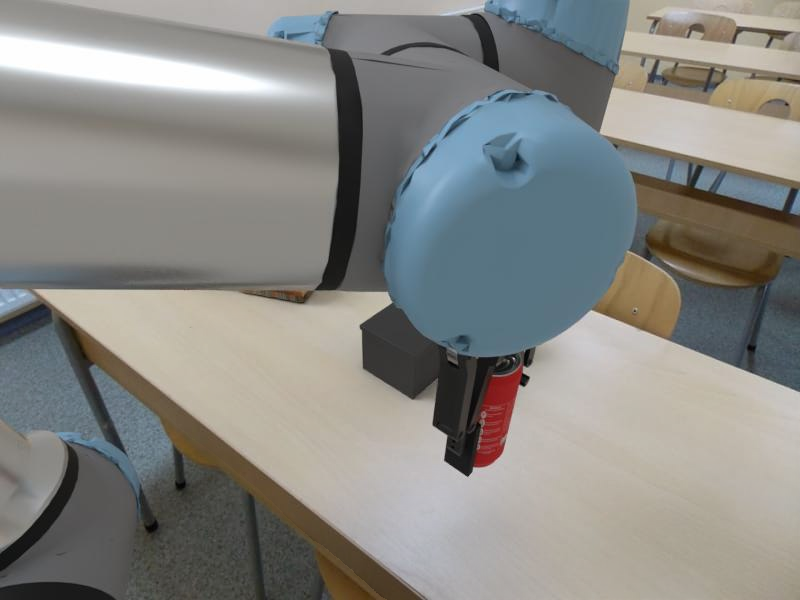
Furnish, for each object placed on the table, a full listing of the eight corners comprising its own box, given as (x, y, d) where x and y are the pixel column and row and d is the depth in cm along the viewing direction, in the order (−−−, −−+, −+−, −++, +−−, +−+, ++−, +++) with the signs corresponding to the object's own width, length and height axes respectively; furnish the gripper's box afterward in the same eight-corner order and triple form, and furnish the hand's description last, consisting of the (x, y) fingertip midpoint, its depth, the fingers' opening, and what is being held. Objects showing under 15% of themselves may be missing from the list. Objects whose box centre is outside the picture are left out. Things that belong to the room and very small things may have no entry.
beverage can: (481, 481, 47) (501, 387, 40) (437, 449, 50) (448, 355, 43) (512, 448, 50) (536, 355, 43) (469, 419, 53) (485, 327, 46)
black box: (413, 401, 75) (415, 357, 70) (360, 368, 80) (359, 324, 75) (454, 364, 81) (459, 321, 76) (403, 335, 86) (405, 293, 81)
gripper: (530, 180, 44) (492, 378, 57) (389, 263, 32) (383, 486, 46) (617, 207, 40) (554, 412, 54) (492, 312, 28) (452, 540, 42)
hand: (475, 446), depth 50 cm, fingers closed on beverage can, 5 cm apart
